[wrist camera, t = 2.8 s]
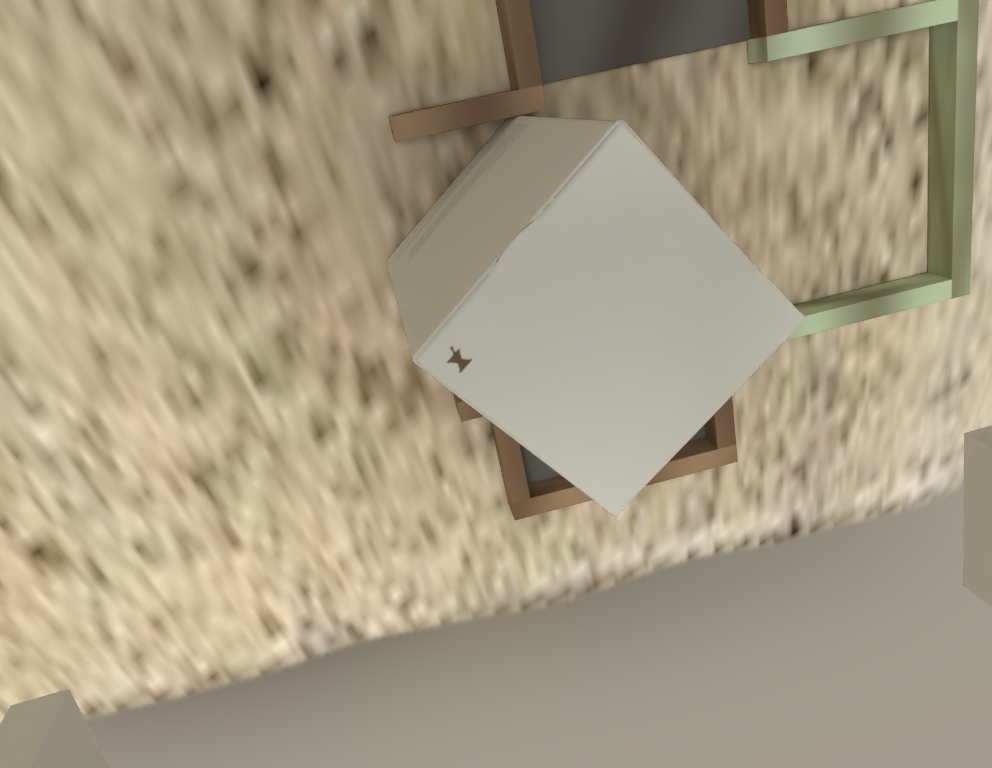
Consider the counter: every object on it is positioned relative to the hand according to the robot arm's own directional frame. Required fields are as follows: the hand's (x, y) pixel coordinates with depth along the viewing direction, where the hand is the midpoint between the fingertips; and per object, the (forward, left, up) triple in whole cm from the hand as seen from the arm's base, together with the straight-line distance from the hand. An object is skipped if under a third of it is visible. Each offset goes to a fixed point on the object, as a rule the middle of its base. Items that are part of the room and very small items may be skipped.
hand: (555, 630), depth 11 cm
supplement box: (+5, 0, -27) cm, 28 cm away
